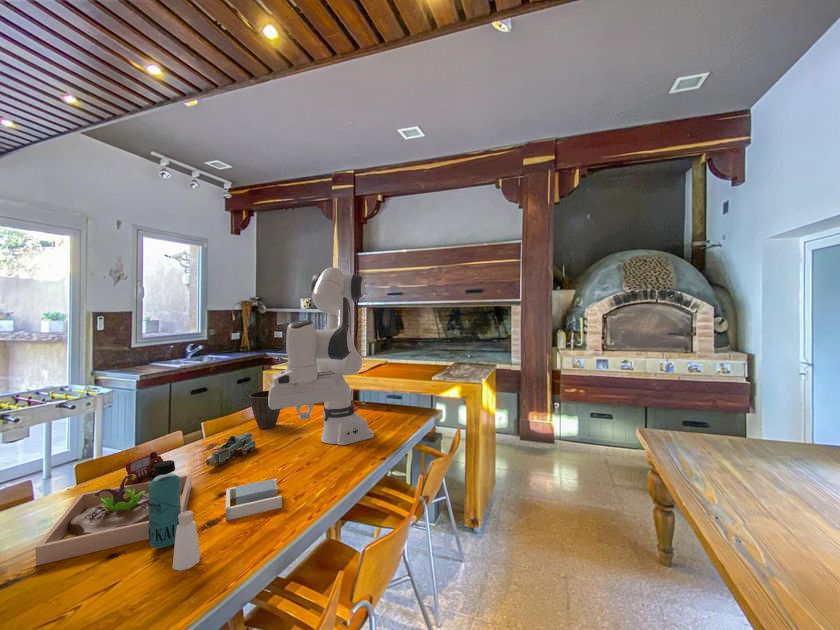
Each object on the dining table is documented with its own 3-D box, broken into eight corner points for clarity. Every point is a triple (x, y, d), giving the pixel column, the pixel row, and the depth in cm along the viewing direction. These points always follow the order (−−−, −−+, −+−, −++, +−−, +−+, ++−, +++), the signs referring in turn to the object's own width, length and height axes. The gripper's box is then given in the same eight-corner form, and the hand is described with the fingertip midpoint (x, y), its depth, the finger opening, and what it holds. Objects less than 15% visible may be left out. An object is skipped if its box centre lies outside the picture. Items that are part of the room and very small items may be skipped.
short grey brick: (275, 492, 113) (275, 478, 113) (278, 503, 107) (277, 488, 107) (236, 501, 108) (235, 486, 108) (236, 513, 102) (236, 497, 102)
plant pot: (276, 431, 171) (275, 397, 171) (244, 432, 171) (243, 397, 171) (288, 422, 186) (287, 390, 186) (258, 422, 186) (257, 390, 186)
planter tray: (191, 486, 118) (191, 474, 118) (181, 531, 94) (180, 515, 94) (80, 508, 106) (80, 494, 106) (35, 565, 81) (35, 547, 81)
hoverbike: (261, 447, 152) (261, 427, 152) (218, 473, 128) (218, 449, 128) (241, 445, 154) (240, 426, 154) (194, 471, 129) (193, 448, 129)
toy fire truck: (173, 479, 123) (173, 448, 123) (137, 498, 111) (136, 463, 111) (156, 477, 125) (156, 446, 125) (119, 495, 113) (118, 461, 113)
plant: (181, 511, 104) (180, 471, 104) (93, 550, 87) (92, 502, 87) (146, 493, 114) (146, 457, 114) (61, 526, 97) (60, 483, 97)
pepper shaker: (192, 570, 79) (191, 519, 79) (166, 572, 79) (165, 520, 79) (205, 554, 85) (204, 506, 85) (180, 555, 84) (179, 507, 84)
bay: (276, 488, 116) (276, 478, 116) (281, 507, 105) (281, 496, 105) (226, 498, 110) (226, 488, 110) (225, 520, 98) (225, 509, 98)
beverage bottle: (159, 539, 91) (157, 457, 90) (188, 537, 91) (186, 456, 91) (141, 556, 84) (140, 469, 84) (172, 554, 85) (170, 467, 84)
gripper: (334, 368, 121) (335, 410, 121) (266, 376, 111) (268, 421, 112) (339, 371, 115) (340, 415, 116) (268, 380, 106) (270, 427, 106)
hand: (304, 418), depth 114 cm, fingers closed
